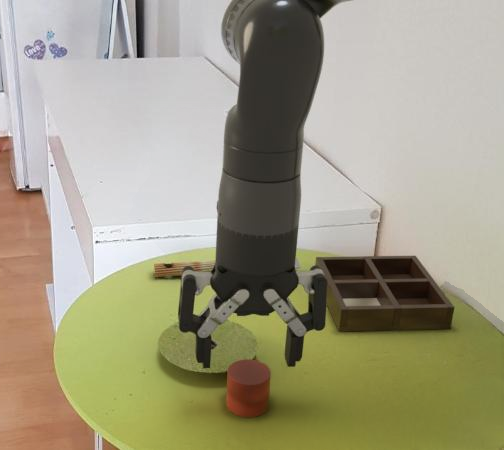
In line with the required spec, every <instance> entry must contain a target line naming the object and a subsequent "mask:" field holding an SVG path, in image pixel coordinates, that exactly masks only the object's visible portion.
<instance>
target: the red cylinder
mask: <svg viewBox="0 0 504 450" xmlns="http://www.w3.org/2000/svg"><path fill="white" fill-rule="evenodd" d="M226 372H227V374H226V393H225V394H226V395H225V405H226V408H227V409H228V410H229V412H231V413H232V414H234V415H236V416H239V417H242V418H255V417H259V416H262V415H263V414H265V413H266V411H267V410H268V408H269V406H270V405H269V404H270V389H271V378H272V371H271V369H270V367H269V366H268V365H267V364H265V363H264V362H262V361H259V360H256V359H252V360H249V359H245V360H239V361H236V362H234V363H232V364H231V365H230V366H229V367H228V371H226Z"/></svg>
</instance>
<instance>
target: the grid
mask: <svg viewBox="0 0 504 450" xmlns="http://www.w3.org/2000/svg"><path fill="white" fill-rule="evenodd" d="M314 263H315V265H317V266H320V267H321V269H322V271H323V273H324V275H325V277H326V279H327V298H326V307H327V308H328V311H329V313H330V315H331V317H332V319H333V322H334V324H335V326H336V327H337V330H338V332H370V331H371V332H377V331H378V332H379V331H414V330H415V331H417V330H450V329H451V328H452V322H453V317H454V314H455V313H454V312H455V306H454V304H453V303H452V302H451V300H450V299H449V298H448V296H447V295H446V294H445V293H444V291H443V290H442V288H441V287H440V285H439V284H438V283H437V282H436V281H435V279H434V278H433V276H432V275H431V274H430V273H429V271H428V270H427V268H426V267H425V266H424V265H423V264H422V262H421V261H420V259H419V258H418V256H417V255H366V256H316V257H315V262H314ZM315 265H314V266H315Z"/></svg>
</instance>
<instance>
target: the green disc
mask: <svg viewBox="0 0 504 450" xmlns="http://www.w3.org/2000/svg"><path fill="white" fill-rule="evenodd" d="M211 338H212V340H211V362H210V368H203V364H202V363H198V361H197V359H196V353H195V344H196V335H195V334H194V333H192V332H187V333H184V332H181V331H180V329H179V321H177V322H174V323H173V324H171V325H169V326H168V327H166V328H165V329H164V330H163V331H162V332H161V334H160V335H159V337H158V341H157V347H158V350H159V352H160V353H161V355H162V356H163V357H164V358H165V359H166V361H168V362H169V363H171V364H172V365H175V366H177V367H178V368H181V369H183V370H186V371H189V372H196V373H197V372H199V373H207V374H212V373H214V374H218V373H220V374H221V373H226V372H227V371H228V367H229V366H230V365H231V364H232V363H234V362H236V361H239V360H245V359H249V360H254V358H255V356H256V355H257V353H258V350H259V348H258V347H259V346H258V340H257V338H256V336H255V335H254V333H253V332H251V331H250V329H248V328H247V327H245V326H244V325H241V324H240V323H238V322H234V321H233V320H229V319H227V320H226V321H225V322H224V323H223V324H219V325H218V326H217V327H216V329H215V330H214V331H213V332H212V333H211Z"/></svg>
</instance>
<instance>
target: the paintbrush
mask: <svg viewBox="0 0 504 450" xmlns="http://www.w3.org/2000/svg"><path fill="white" fill-rule="evenodd" d="M214 265H215V260H203V261H202V260H200V261H184V262H183V261H182V262H180V261H179V262H170V263H165V262H163V263H161V262H159V263H153V270H154V271H153V273H154V278H162V277H163V278H164V277H169V276H172V277H176V276H178V277H179V276H180V277H181V276H182V270H183V268H184V267H186V266H190V267H192V268H193V269H194V271H196V272H211V270H212V269H213V267H214ZM301 268H302V266H301V263H300V262H299V259H298V258H297V257H296V259H295V270H297V269H301Z"/></svg>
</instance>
